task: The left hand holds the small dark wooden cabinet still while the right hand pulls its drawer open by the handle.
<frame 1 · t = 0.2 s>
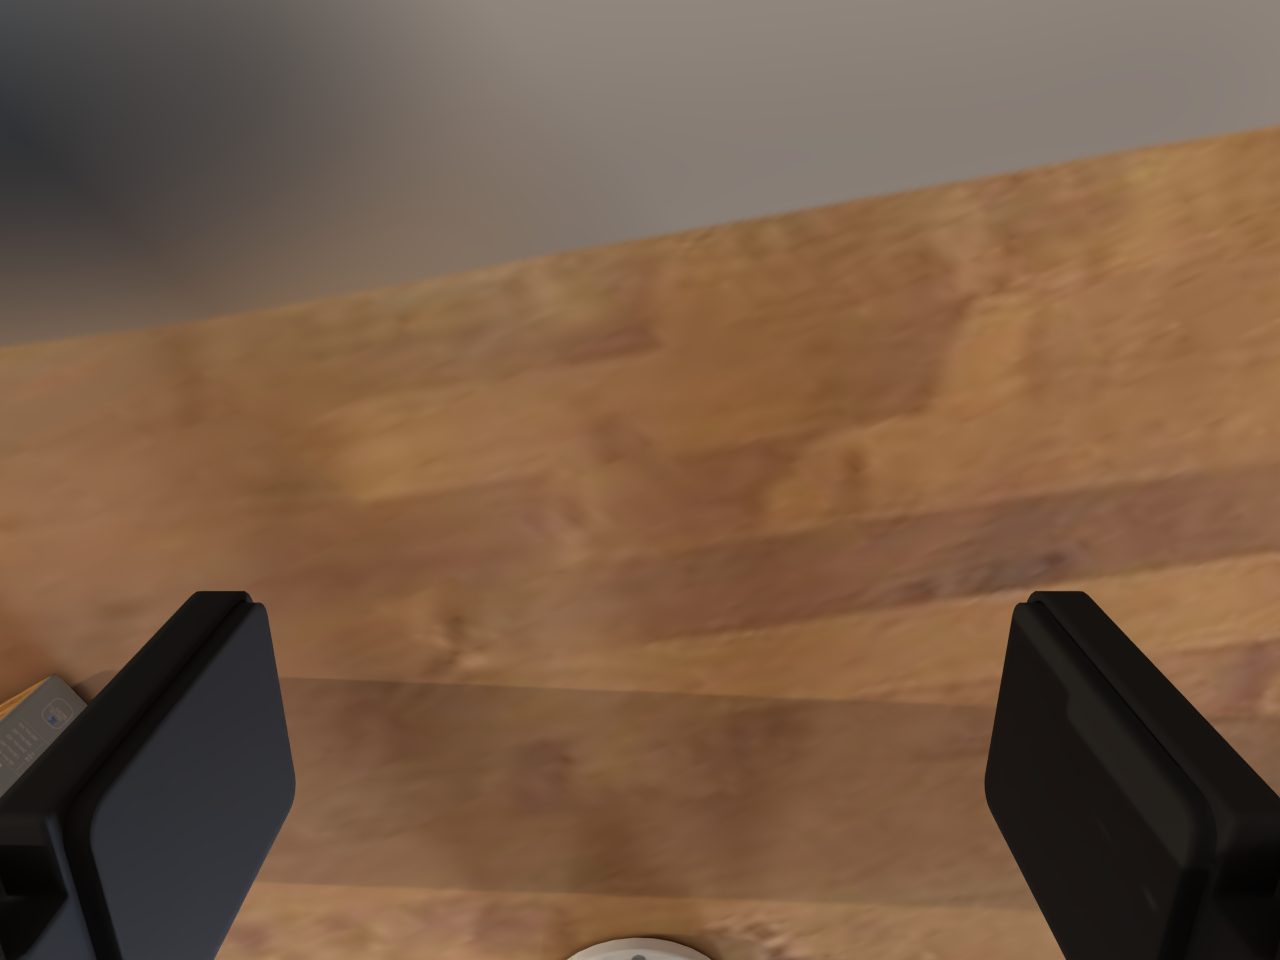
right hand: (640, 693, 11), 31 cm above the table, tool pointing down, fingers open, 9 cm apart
hard drive box: (5, 775, 50), on the table
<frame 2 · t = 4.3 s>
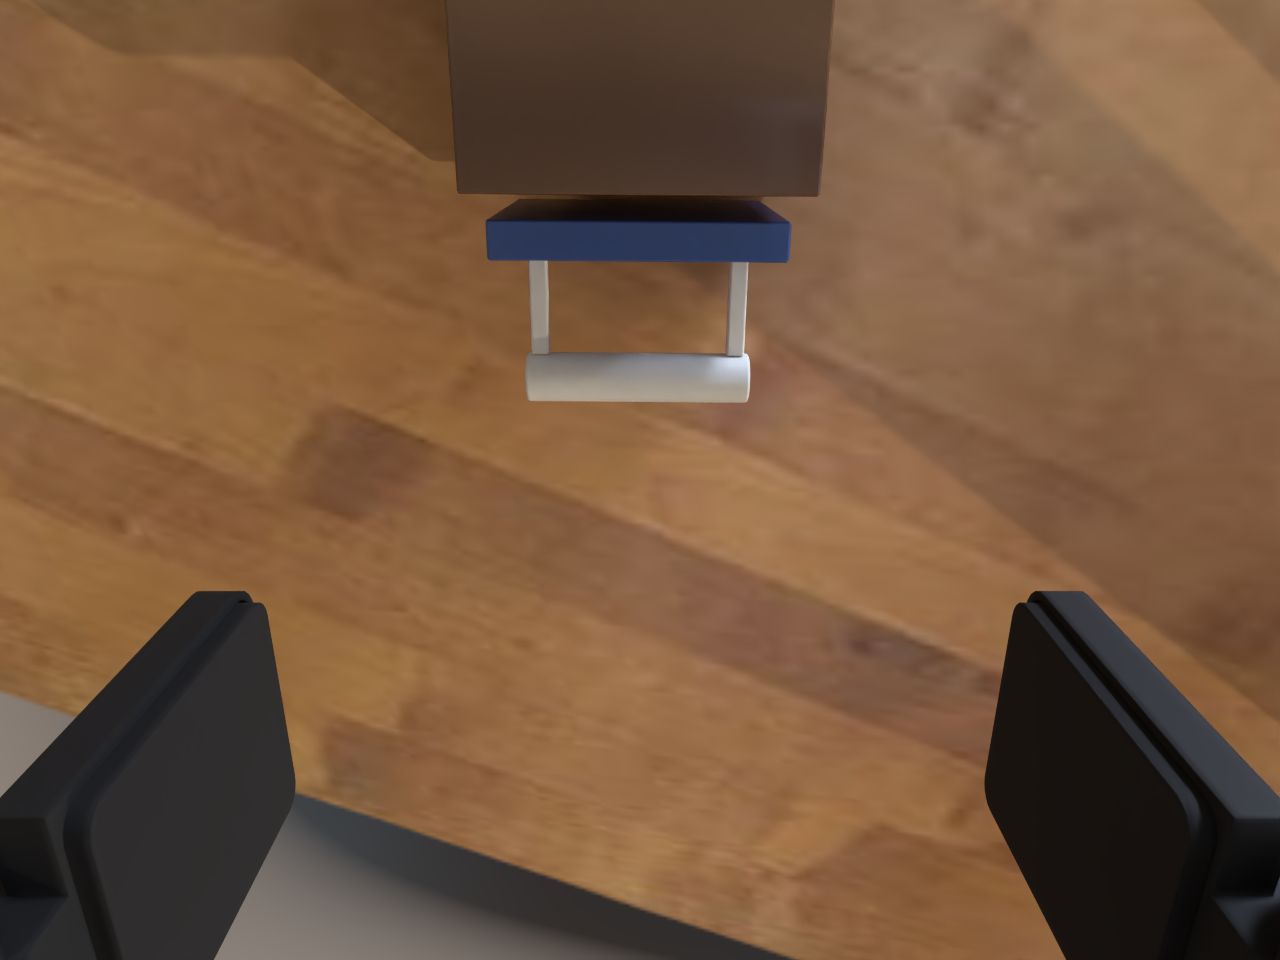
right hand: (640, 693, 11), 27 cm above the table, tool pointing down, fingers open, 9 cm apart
drawer: (639, 74, 29), point 5 cm above the table, slide at 0.8 cm
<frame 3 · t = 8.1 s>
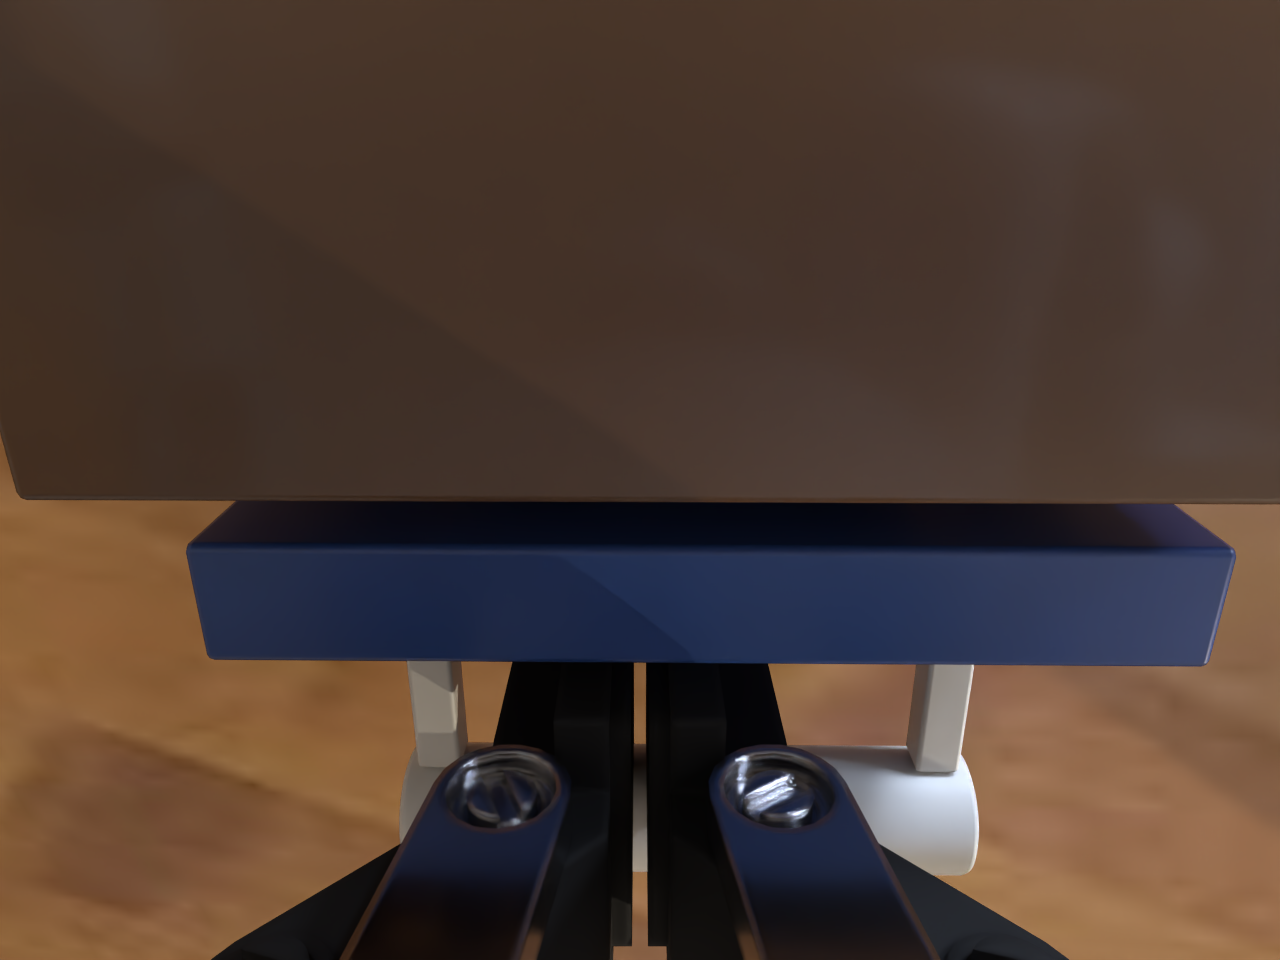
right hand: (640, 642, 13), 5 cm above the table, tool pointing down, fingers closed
drawer: (697, 48, 10), point 5 cm above the table, slide at 0.8 cm, touching right hand
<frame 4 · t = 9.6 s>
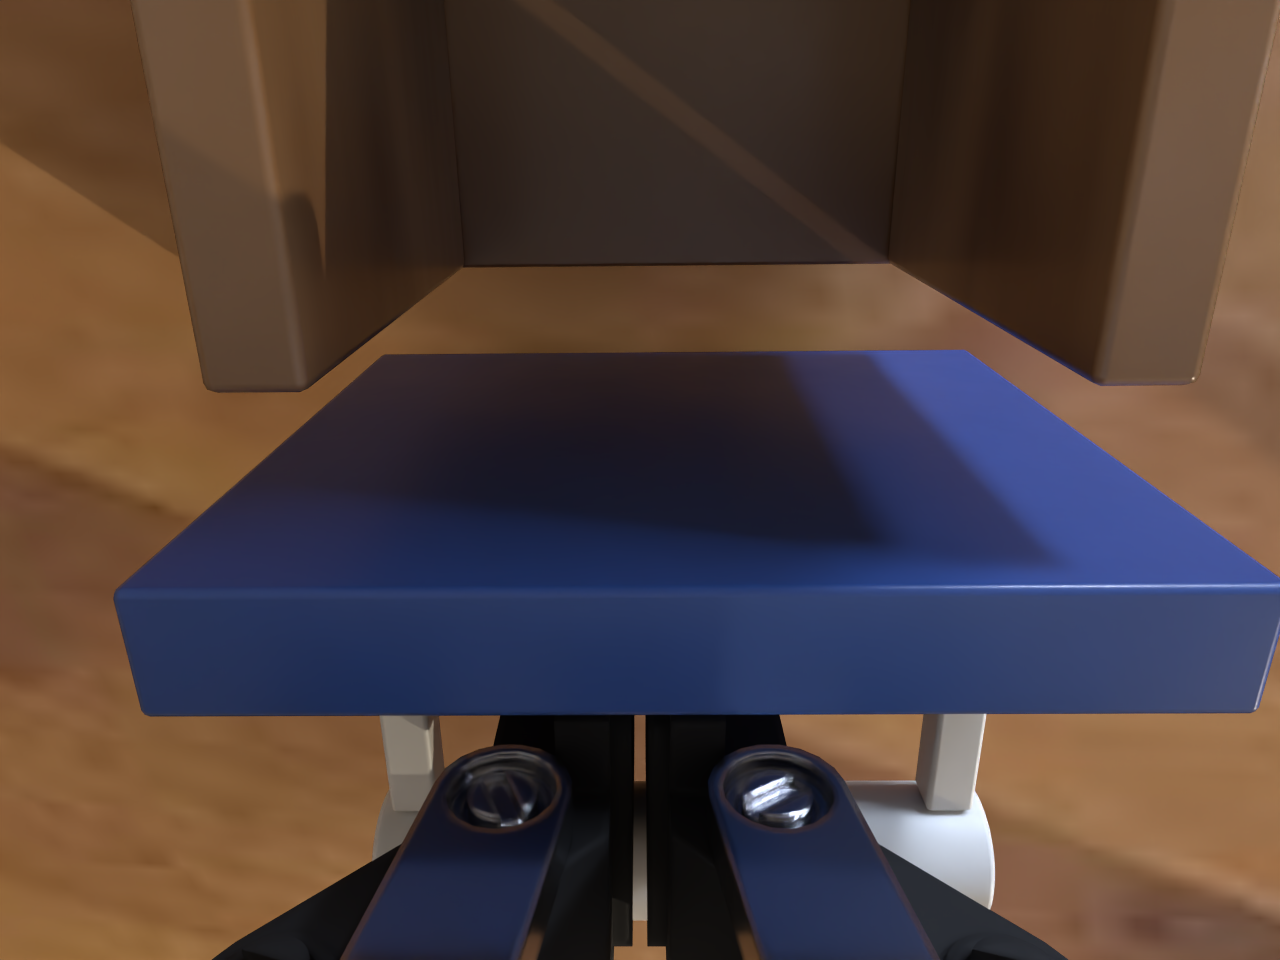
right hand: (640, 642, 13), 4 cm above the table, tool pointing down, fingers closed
drawer: (683, 33, 9), point 5 cm above the table, slide at 7.6 cm, touching right hand
when the left hand's fingers open (5 cm above the table, at t = 11.4 s): cabinet stays where it is, on the table.
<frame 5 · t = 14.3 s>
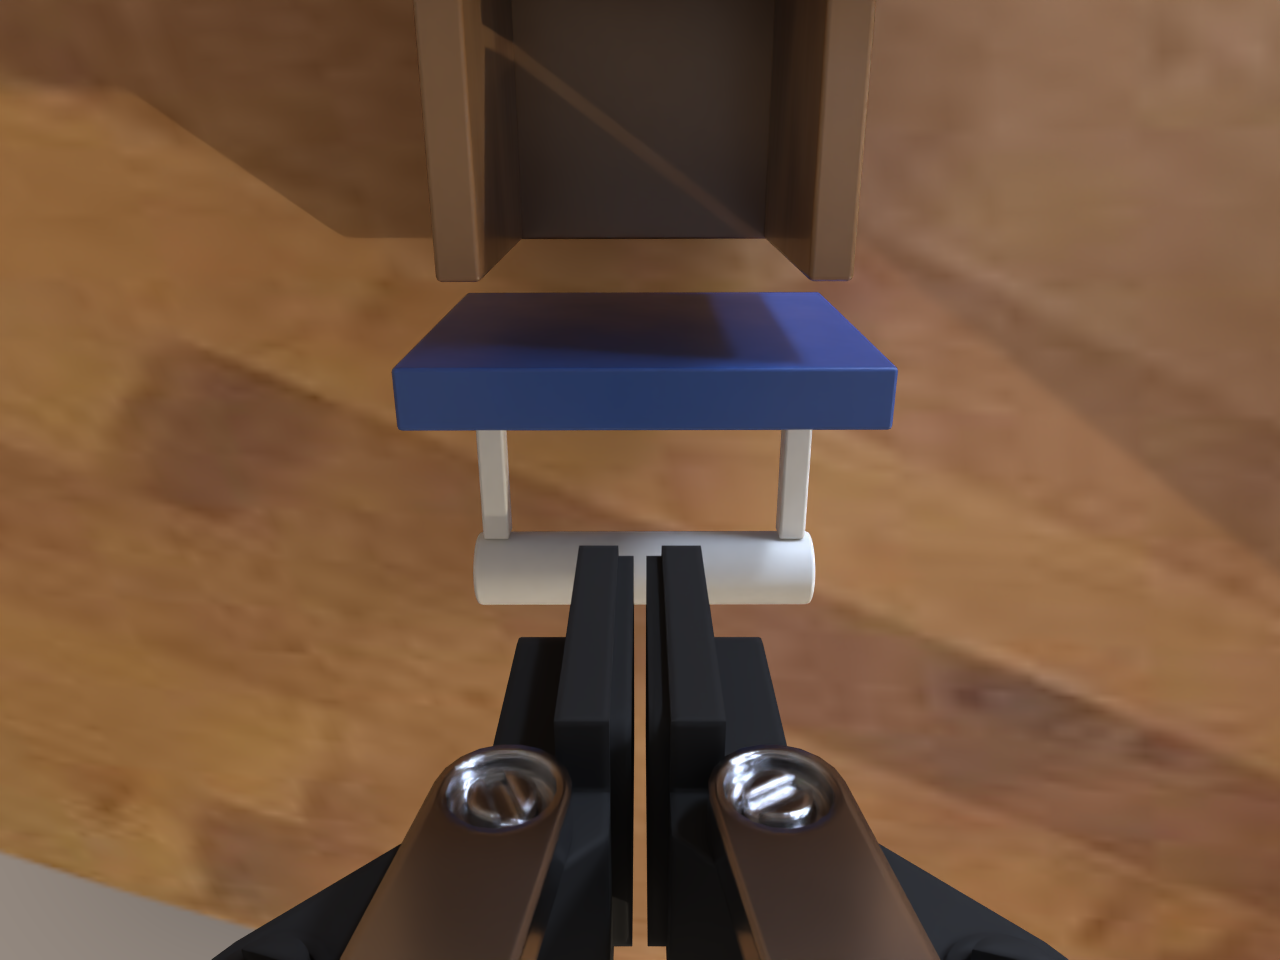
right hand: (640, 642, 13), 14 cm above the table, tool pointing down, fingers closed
drawer: (643, 119, 18), point 5 cm above the table, slide at 7.6 cm
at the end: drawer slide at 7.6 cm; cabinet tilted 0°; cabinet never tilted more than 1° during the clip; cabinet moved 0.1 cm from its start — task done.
